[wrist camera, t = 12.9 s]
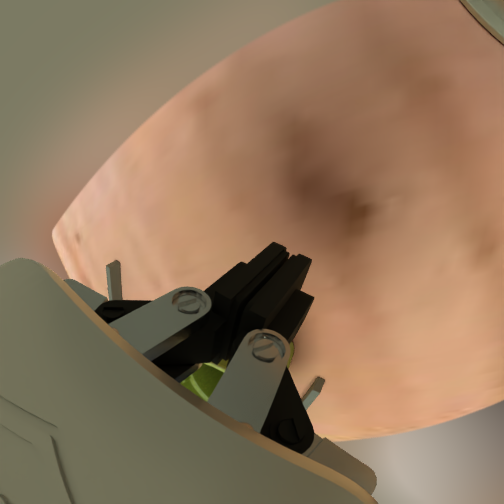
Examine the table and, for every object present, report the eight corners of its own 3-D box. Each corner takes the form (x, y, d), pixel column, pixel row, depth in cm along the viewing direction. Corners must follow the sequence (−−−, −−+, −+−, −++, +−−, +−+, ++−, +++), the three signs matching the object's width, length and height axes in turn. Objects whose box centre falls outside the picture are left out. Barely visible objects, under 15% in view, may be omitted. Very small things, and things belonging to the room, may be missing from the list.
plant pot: (219, 352, 29) (172, 404, 22) (226, 284, 25) (163, 337, 18) (296, 387, 26) (261, 452, 19) (323, 321, 22) (287, 399, 14)
